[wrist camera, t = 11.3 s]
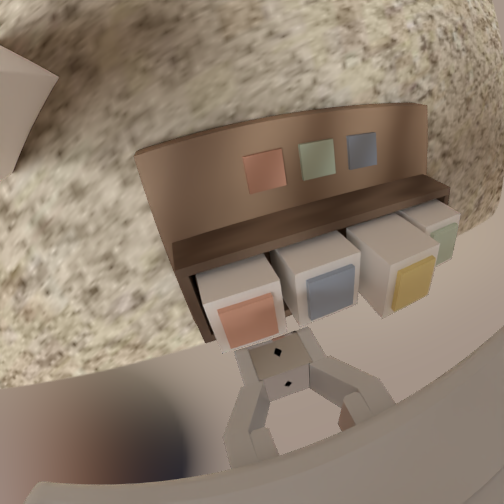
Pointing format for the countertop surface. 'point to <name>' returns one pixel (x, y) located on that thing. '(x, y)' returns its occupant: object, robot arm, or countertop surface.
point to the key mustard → (393, 262)
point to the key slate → (318, 276)
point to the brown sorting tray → (282, 184)
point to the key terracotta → (243, 302)
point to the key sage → (435, 224)
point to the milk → (19, 104)
